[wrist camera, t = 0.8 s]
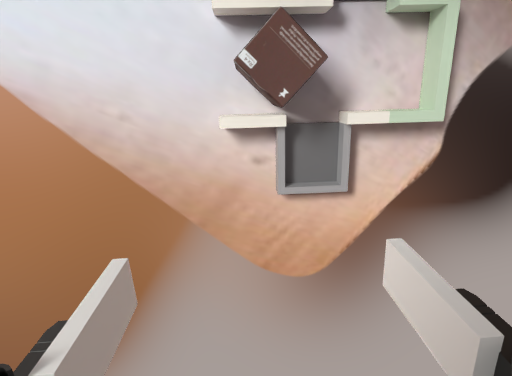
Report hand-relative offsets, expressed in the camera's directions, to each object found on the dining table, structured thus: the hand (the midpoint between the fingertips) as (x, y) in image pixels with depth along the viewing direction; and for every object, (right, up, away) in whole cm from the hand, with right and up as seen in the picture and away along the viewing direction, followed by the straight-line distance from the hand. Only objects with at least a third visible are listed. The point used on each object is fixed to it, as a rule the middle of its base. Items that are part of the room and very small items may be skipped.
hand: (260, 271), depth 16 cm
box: (+2, +18, +18) cm, 25 cm away
